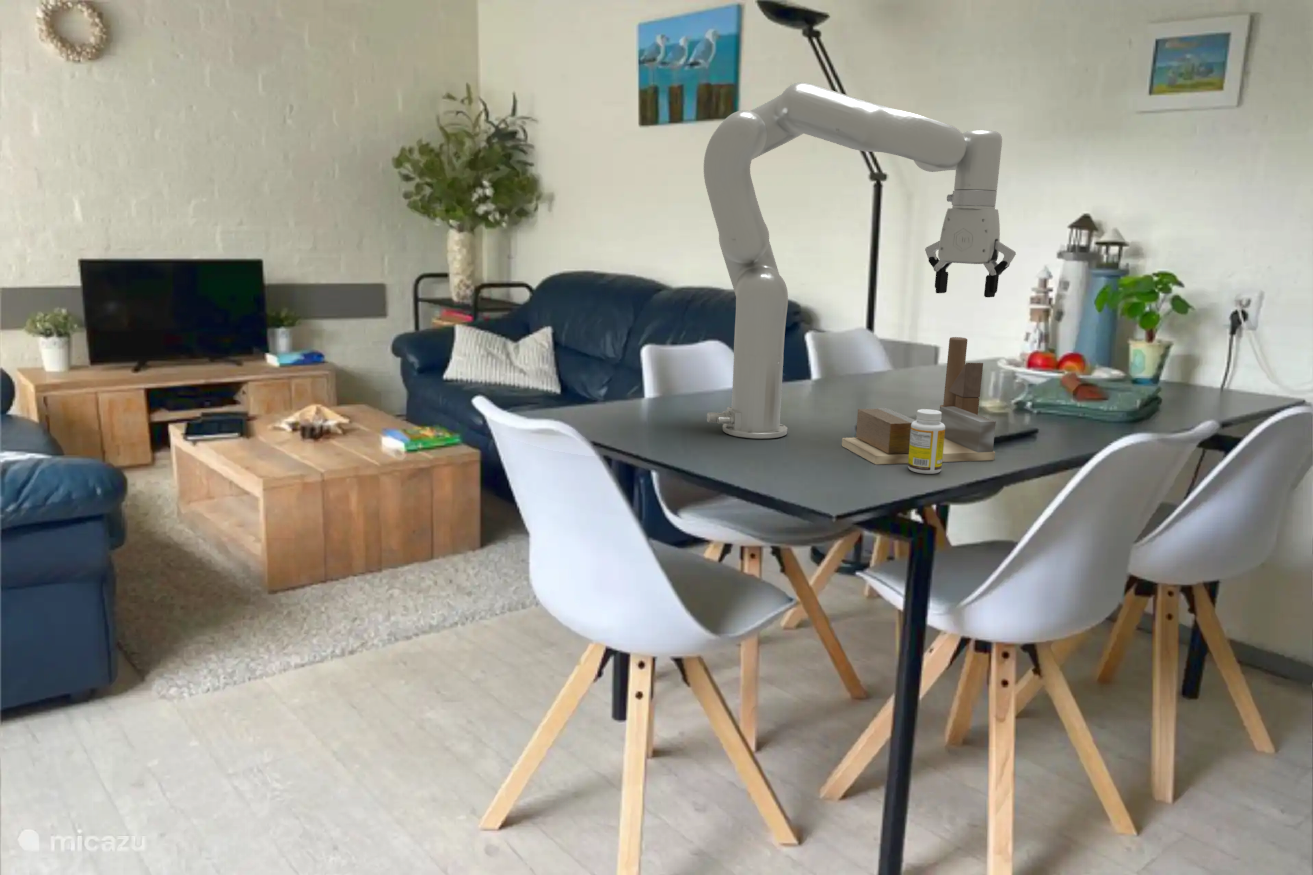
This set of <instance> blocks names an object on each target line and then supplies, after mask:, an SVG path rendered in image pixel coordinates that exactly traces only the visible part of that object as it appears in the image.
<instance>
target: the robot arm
mask: <svg viewBox="0 0 1313 875" xmlns="http://www.w3.org/2000/svg"><path fill="white" fill-rule="evenodd" d="M803 134H805V135H807V136H810V137H813V138H817V139H820V140H824V141H826V142H830V143H833V144H837V145H839V146H843V147H844V148H845V147H846V148H849V149H851V150H855V151H860V152H869V153H870V152H874V153H884V154H889V155H894V156H898V157H902V158H906V159H909V160H912V161H913V162H914V163H915V165H916V166H917V167H918V168H919V169H920V170H922V171H925V172H929V173H938V172H946V171H955V176H954V186H953V187H954V188H953V190H952V193H951V194H947V195H946V201H947V202H951V205H952V208H951V207H950V208H949V207H948V208H947V210H946V213H945V217H944V219H943V222H942V228H941V231H940V232H941V233H940V237H939V240H938V241H936V242H934V243H932V244H930V245H928V246H926V247H925V248H924V249H925V250H924V251H925V254H926V257H927V258H928V263H929V264H930V265H931V267H932V269H933V271H934V272H935V278H934V279H935V280H934V288H935V294H945V293H947V292H948V280H949V272H948V271H947V269H948V268H949V267H950V266H951V265H952V264H953V263H954V264H970V265H982V264H983V266H984V267H985V269H986V270H987V272H988V274H987V275H986V276H985V281H984V282H985V285H984V292H983V297H985V298H994V297H995V296H996V293H997V292H998V286H999V277H1000V276H1001V275H1002V274H1003V273H1004V271H1005V270H1007V269H1008V267H1010V265H1011V263H1012V262H1013V260H1014V258H1015V257H1016V255H1017V254H1016V251H1015V250H1013V249H1012V248H1010V247H1009V246H1007V245H1006V244H1004V243H1002V242H1001V241H1000V240H1001V239H1000V238H1001V236H1000V234H1001V232H1000V230H1001V228H1000V227H1001V224H1000V215H999V214H1000V213H999V209H997V208H996V203H997V202H996V201H997V195H998V194H997V193H998V184H999V174H1000V167H1001V166H1000V165H1001V157H1002V146H1003V138H1002V134H1001V133H1000V132H998V131H996V130H990V129H989V130H988V129H978V130H977V129H975V130H973V129H972V130H966V131H964V132H962V131H961V130H959V129H958V128H957V127H955V126H954V125H951V124H949V123H946V122H942V121H940V120H936V119H934V118H930V117H926V116H923V115H920V114H917V113H914V112H909V111H905V110H901V109H896V108H892V107H890V106H886V105H883V104H878V103H875V102H870V101H867V100H863V99H860V98H858V97H853V96H851V95H847V94H845V93H842V92H839V91H834V90H833V89H829V88H826V87H822V86H820V85H817V84H813V83H809V82H802V81H801V82H794V83H793V84H790V85H789V86H787V87H786V88H785V89H784V91H783V92H782V93H781V94H779V95H778V96H776V97H774V98H772V99H770V100H769V101H767V102H764V103H762V104H761V105H759V106H757V107H755V108H753V109H750V110H746V109H743V110H738V111H734V112H733V113H731V114H730V115H728V116H727V117H726V118H725V119H724V120H723V121H722V122H721V123H720V124H719V126H718V127H717V128H716V129H715V131H714V132H713V134H712V136H711V137H710V139H709V141H708V143H707V146H706V150H705V153H704V159H703V179H704V183H705V184H704V185H705V189H706V192H707V196H708V201H709V202H710V207H711V211H712V214H713V218H714V222H715V224H716V227H717V232H718V243H719V246H720V250H721V253H722V256H723V260H724V262H725V266H726V269H727V272H728V275H729V279H730V282H731V285H732V288H733V292H734V294H735V298H736V299H735V318H734V319H735V322H734V337H733V339H734V340H733V369H732V387H731V388H732V390H731V391H732V392H731V406H727V407H726V410H723V411H722V412H707V414H706V421H707V423H717V424H719V425H721V424H722V431H723V432H724V433H725V434H728V435H730V436H734V437H737V438H746V439H761V440H762V439H775V438H777V439H778V438H782V437H784V436H786V435H787V434H788V426H786V425H784V424H782V423H781V409H782V408H781V406H782V392H783V390H782V389H783V371H784V367H783V366H784V353H785V352H784V350H785V338H786V337H785V334H786V325H787V324H786V323H787V316H788V315H787V313H788V305H789V294H788V293H789V292H788V287H787V283H786V282H785V279H783V277H782V276H781V275H780V272H779V269H778V265H777V262H776V259H775V255H774V252H773V249H772V246H771V242H770V232H769V229H768V225H767V224H766V222H765V220H764V217H763V215H762V214H763V213H762V212H761V208H760V205H759V202H758V199H757V198H758V197H757V195H756V191H755V186H754V183H753V180H752V177H751V176H752V175H751V163H752V160H755V159H756V158H758V157H761V156H762V155H764V154H766V153H768V152H771V151H773V150H775V149H776V148H778V147H779V148H780V147H781V146H783V145H784V144H787V143H789V142H791V141H794V139H796V138H798V137H800V136H802V135H803ZM937 251H938V252H937ZM999 253H1001V254H1002V255H1003V258H1002V260H1001V261H1000V262H999V263H998V262H997V260H998V258H999Z"/></svg>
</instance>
